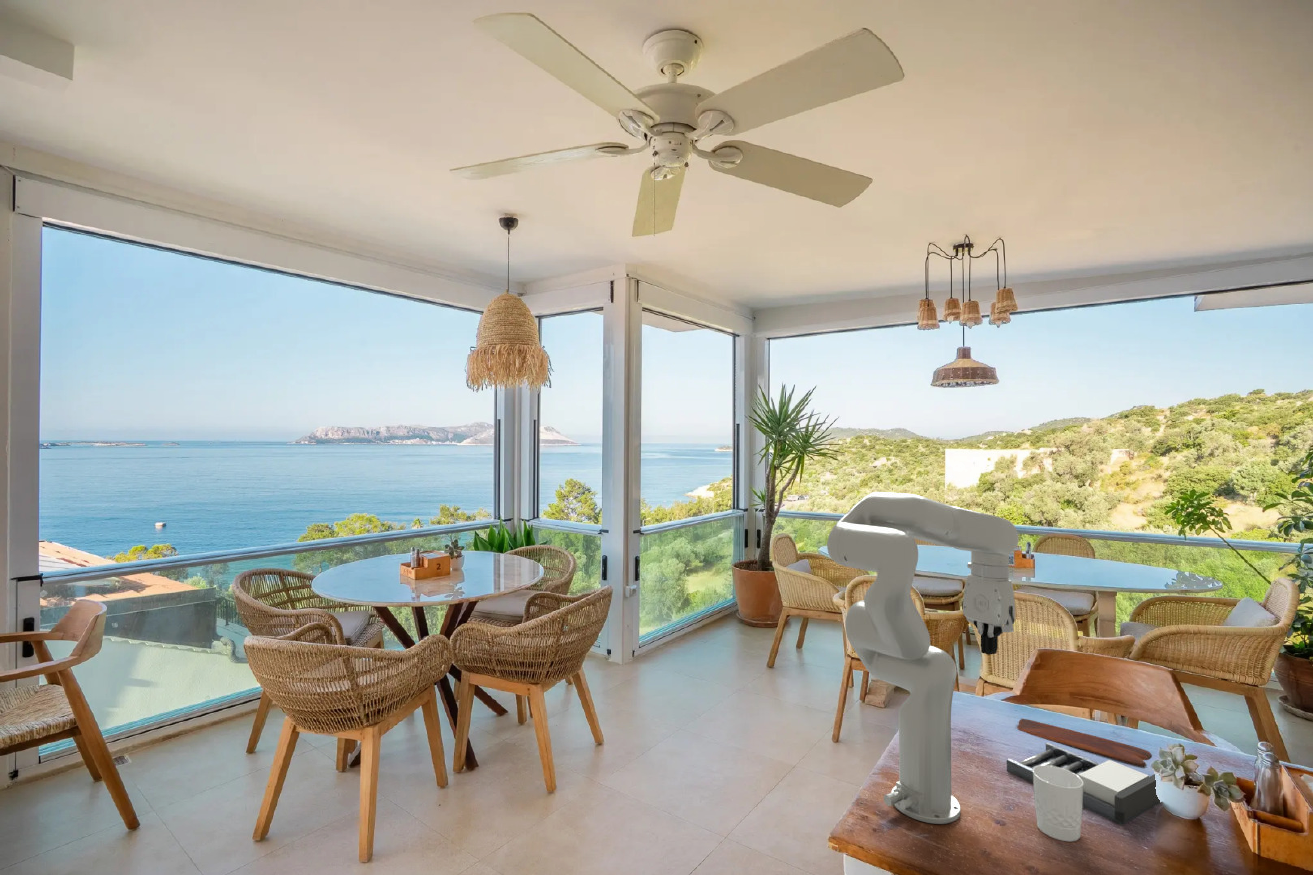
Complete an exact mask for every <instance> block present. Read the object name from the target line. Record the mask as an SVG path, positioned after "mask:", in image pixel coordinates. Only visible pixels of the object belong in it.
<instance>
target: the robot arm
mask: <svg viewBox="0 0 1313 875" xmlns="http://www.w3.org/2000/svg"><path fill="white" fill-rule="evenodd" d="M916 540H918V541H922V542H926V543H929V544H933V545H938V546H943V547H949V548H954V549H956V550H960V551H965V552H966V551H967V552H970V553H971V554H970V555H971V556H970V557H971V558H970V561H971V562H968V563H967V569H970V573H969V574H967V576H966V580H965V584H964V590H963V600H962V615H963V616H965V618H966V621H967V622H969V623H971V624H973V625H974V627H975V628H976V629H977V633H978V635H980V652H981V653H982V654H985V655H988V656H990V655H996V654H997V653H998V639H999V637H1001V635H1002V634H1003V633H1012V632H1014V630H1015V629H1014V624H1015V621H1016V603H1015V594H1014V588H1013V583H1012V580H1011V579H1009V578H1010V574H1009V573H1010V555H1011V554H1013V552H1015V550H1016V549H1017V547H1018V544H1019V532H1018V530H1017V527H1016V526H1015V525H1014V523H1013V522H1012V521H1010V520H1008V519H1006V518H1003V517H1000V516H996V515H993V514H988V513H983V512H979V511H974V510H971V509H967V508H963V507H958V506H953V505H949V504H946V503H942V502H940V501H936V500H933V499H931V498H929V497H926V496H923V495H922V496H921V495H918V494H914V493H904V492H891V491H890V492H887V491H874V492H871V493H869V494H867V495H865V496H863V498H861V499H860V500H859V501H857V503H855V504H854V505H853V506H852V507H851V508H850V509H849V510H848V511H847V512H846V514H844V515H843V516H842V517H841V518H840V519H839V520H838V521H837V522H836V524H834V526H833V527H832V529H831V530H830V532H829V534H828V537H827V541H826V542H827V543H826V547H827V552H828V555H829V557H830V559H831V560H832V561H833V562H835V563H836V564H838V565H840V566H842V567H847V568H851V569H857V570H862V571H867V572H873V573H876V574H877V575H876V577H875V578H876V579H875V580H874V581H873V583H871V584H870V585H869V587H868V588H867V590H866V592H865V594H864V598H863V600H858V601H856V602H854V603H853V604H852V605H851V606H850V607H849V609H848V611H847V613H846V615H845V624H844V625H845V632H846V633H845V634H846V638H847V639H848V642H849V643H850V646H851V647H852V649H853V650H854V652H855V654H856V655H857V657H858V658H859V661H861V663H862V664H863V666H864V667H865V670H866V671H868V673H869V674H870V675H871V676H872V677H873V678H876V679H878V680H879V681H882V682H884V683H888V684H890V685H893V686H896V687H899V688H901V689H904V690H906V691H908V692H909V693H910V695H909V697H908V698H907V699H906V700H905V701H904V702H903V703H902V704H901V706H900V708H899V711H898V773H899V774H898V781H896V783H895V786H893V787H892V789H891V791H890V792H889V793H887V794H884V795H883V801H884V802H883V803H885V805H886V806H887V807H891V806H894V807H895V808H896V809H897V810H898V811H900V812H901V813H902V814H904V815H905V816H906V817H909V818H911V819H914V820H917V821H920V822H922V823H926V824H927V823H928V824H936V825H945V824H951V823H953V822H954V821H956V820H958V819H959V818H960V816H961V805H960V803H959V801H958V800H957V799H956V797H954V795H952V708H953V707H952V704H953V696H954V692H955V685H956V681H957V665H956V662H955V660H954V659H953V657H952V656H951V655H950V654H949V653H947V652H946V651H945V650H943V649H940V648H939V647H937V646H933V645H931V636H930V632H929V630H928V628H927V625H926V623H925V621H924V619H923V618H922V616H921V614H920V612H919V610H918V609H917V608H918V607H916V605H915V603H914V601H913V599H912V596H911V590H912V586H913V583H914V579H915V578H914V577H915V575H916V569H917V565H918V562H919V549H918V544H917V542H916Z"/></svg>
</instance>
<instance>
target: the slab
mask: <svg viewBox="0 0 1313 875" xmlns="http://www.w3.org/2000/svg"><path fill="white" fill-rule="evenodd" d="M1099 764H1100V765H1097V766H1095V767H1093V768H1091V769H1089V770H1087V771H1085V772H1083V773H1081V774H1079V775H1078V776H1079V777H1080V778H1081V779H1082V780H1083V783H1084V785H1083V792H1085V793H1087V794H1090V795H1092V796H1094V797H1096V798H1098V799H1100V800H1103V801H1105V802H1107V803H1109V804H1111V805H1114V806H1115V795H1116V794H1118V793H1120V792H1122V791H1124V790H1126V789H1128V788H1130V787H1131V786H1133V785H1135V784H1137V783H1139V782H1141V781H1143V780H1145V779H1146V778H1148V777H1150V775H1148V774H1146V773H1143V772H1141V771H1138V770H1136V769H1133V768H1131V767H1128V766H1126V765H1123V764H1121V763H1119V762H1115V761H1113V760H1111V759H1108V760H1105V761H1104V762H1102V763H1099Z"/></svg>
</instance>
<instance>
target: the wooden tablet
mask: <svg viewBox="0 0 1313 875" xmlns="http://www.w3.org/2000/svg"><path fill="white" fill-rule="evenodd" d="M1018 723H1019V724H1017V726H1016V728H1017V730H1019V731H1021V732H1023V733H1025V732H1026V733H1025V734H1028V735H1031V736H1034V737H1038V738H1040V739H1044V740H1048V741H1051V742H1055V743H1058V744H1063V745H1066V746H1069V747H1072V748H1075V749H1080V750H1083V751H1087V752H1090V753H1093V754H1096V755H1099V756H1103V757H1105V758H1109V759H1112V760H1116V761H1119V762H1121V763H1125V764H1129V765H1132V766H1136V767H1141V768H1146V765H1147V764H1146V762H1145V761H1149V760H1150V759H1151V758H1152V753H1151V752H1150V751H1149V750H1146V749H1143V748H1141V747H1137V746H1134V745H1130V744H1127V743H1122V742H1120V741H1114V740H1111V739H1107V738H1105V737H1101V736H1097V735H1092V734H1088V733H1083V732H1079V731H1077V730H1072V729H1069V728H1064V727H1060V726H1056V725H1052V724H1049V723H1045V722H1040V721H1036V720H1032V719H1029V718H1028V719H1026V718H1021V719H1020V720H1019V721H1018Z"/></svg>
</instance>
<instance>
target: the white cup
mask: <svg viewBox="0 0 1313 875" xmlns="http://www.w3.org/2000/svg"><path fill="white" fill-rule="evenodd" d="M1032 784H1033V796H1034V809H1035V813H1036V815H1035V816H1036V824H1037V828H1038V829H1039V830H1040V831H1041V832H1042V833H1044V834H1045V835H1047V836H1048V837H1050V838H1053V839H1056V840H1059V841H1065V842H1075V841H1076V842H1077V841H1078V840H1080V839H1081V826H1082V825H1081V823H1082V820H1083V808H1084V807H1083V785H1084V783H1083V780H1082V779H1081V778H1080V777H1079V776H1078V775H1076V774H1074V773H1073V772H1071V771H1068V770H1066V769H1063V768H1060V767H1055V766H1049V765H1040V766H1036V767H1034V768H1033V783H1032Z"/></svg>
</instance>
